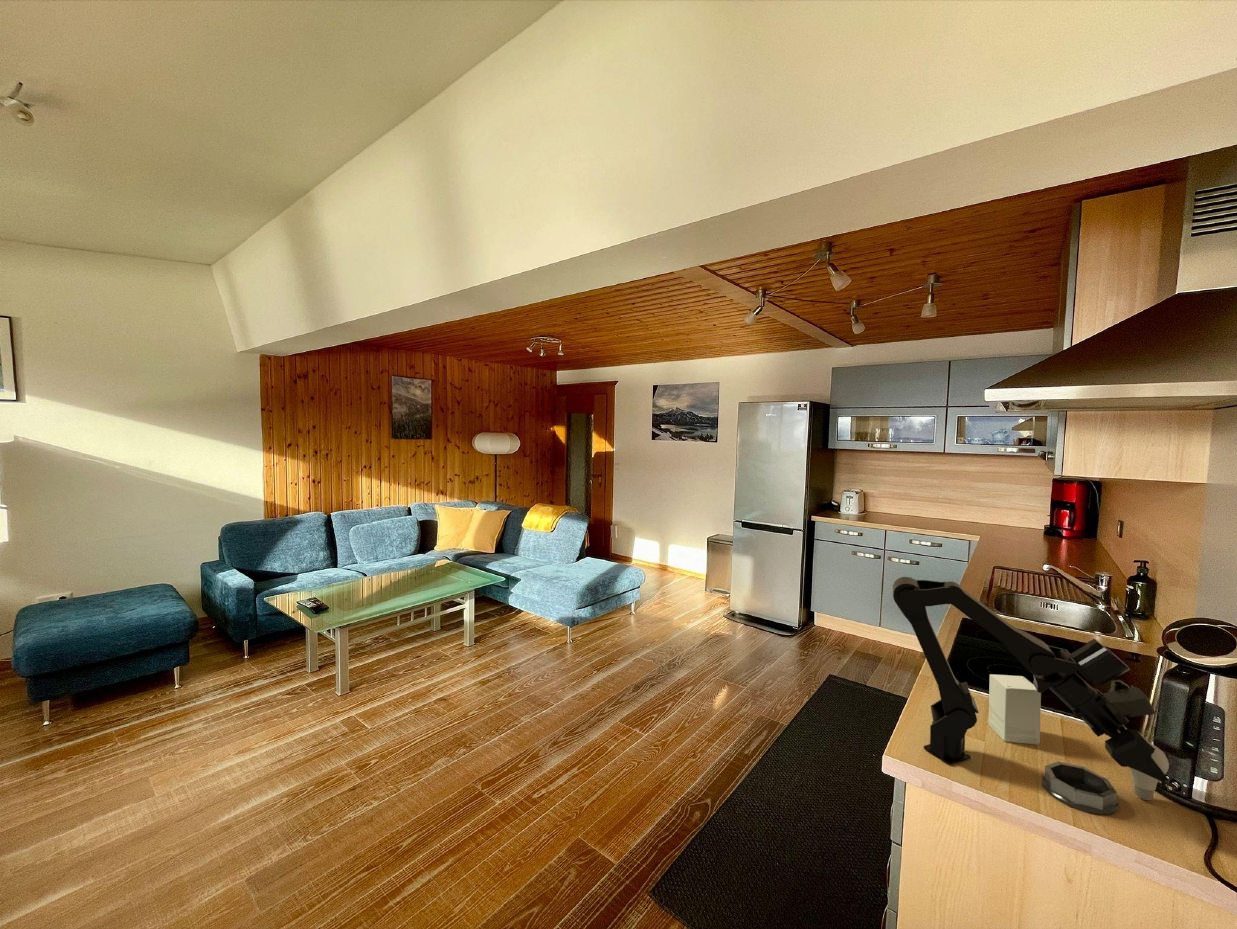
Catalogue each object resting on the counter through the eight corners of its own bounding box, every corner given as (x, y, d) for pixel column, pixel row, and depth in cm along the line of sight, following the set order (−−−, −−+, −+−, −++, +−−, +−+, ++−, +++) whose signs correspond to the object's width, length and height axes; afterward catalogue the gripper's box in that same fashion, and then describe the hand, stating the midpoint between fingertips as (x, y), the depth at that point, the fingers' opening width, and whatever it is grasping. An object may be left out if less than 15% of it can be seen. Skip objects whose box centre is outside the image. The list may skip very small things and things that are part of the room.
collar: (1094, 821, 92) (1095, 804, 92) (1028, 783, 103) (1029, 767, 103) (1132, 806, 96) (1133, 790, 96) (1064, 770, 106) (1065, 755, 106)
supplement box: (1041, 745, 115) (1042, 690, 114) (1003, 742, 116) (1005, 688, 116) (1022, 727, 122) (1023, 675, 121) (987, 724, 124) (988, 673, 123)
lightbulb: (1120, 799, 98) (1123, 743, 97) (1121, 783, 102) (1123, 730, 102) (1167, 815, 94) (1170, 757, 93) (1166, 798, 98) (1168, 742, 97)
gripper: (1140, 696, 90) (1227, 774, 86) (1100, 655, 107) (1171, 718, 102) (1081, 728, 94) (1161, 805, 90) (1050, 684, 111) (1117, 746, 106)
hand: (1153, 765), depth 97 cm, fingers open, 9 cm apart
